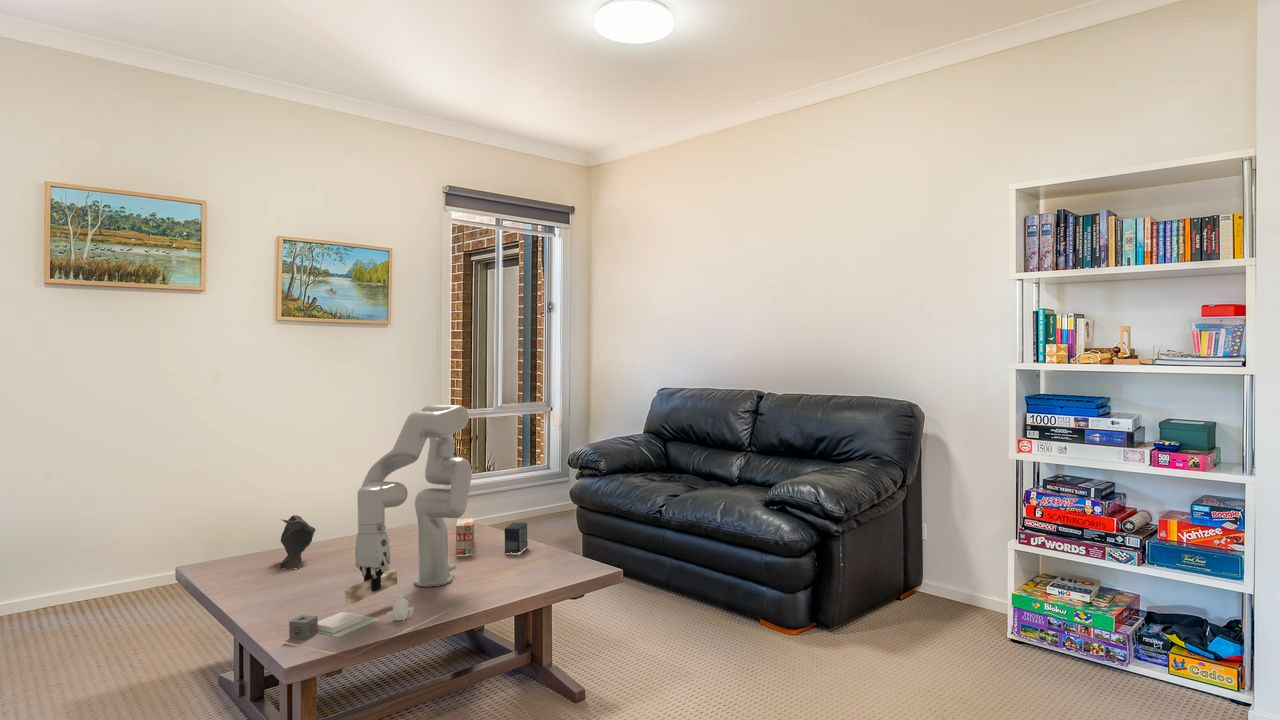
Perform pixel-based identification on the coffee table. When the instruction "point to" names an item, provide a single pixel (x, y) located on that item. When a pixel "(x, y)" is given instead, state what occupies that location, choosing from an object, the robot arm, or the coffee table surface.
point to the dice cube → (303, 627)
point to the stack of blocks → (464, 536)
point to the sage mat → (364, 622)
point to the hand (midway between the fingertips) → (372, 589)
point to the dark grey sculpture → (295, 541)
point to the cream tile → (338, 622)
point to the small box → (516, 537)
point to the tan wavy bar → (369, 587)
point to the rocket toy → (400, 609)
